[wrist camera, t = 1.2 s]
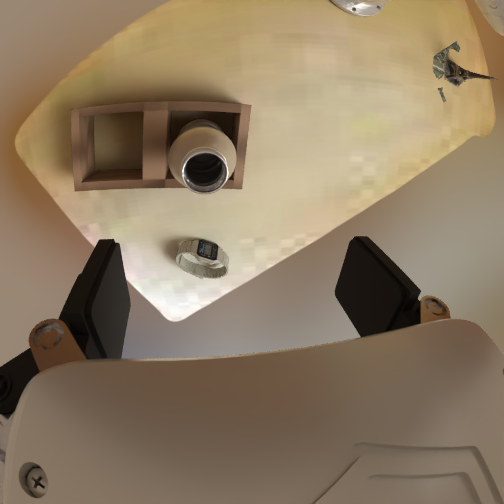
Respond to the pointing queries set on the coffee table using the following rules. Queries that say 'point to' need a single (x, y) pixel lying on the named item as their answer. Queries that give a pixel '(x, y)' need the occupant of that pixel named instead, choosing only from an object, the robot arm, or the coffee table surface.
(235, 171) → the bottle rack
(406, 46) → the coffee table surface
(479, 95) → the coffee table surface
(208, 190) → the plastic bottle
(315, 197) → the coffee table surface
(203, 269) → the wristwatch
